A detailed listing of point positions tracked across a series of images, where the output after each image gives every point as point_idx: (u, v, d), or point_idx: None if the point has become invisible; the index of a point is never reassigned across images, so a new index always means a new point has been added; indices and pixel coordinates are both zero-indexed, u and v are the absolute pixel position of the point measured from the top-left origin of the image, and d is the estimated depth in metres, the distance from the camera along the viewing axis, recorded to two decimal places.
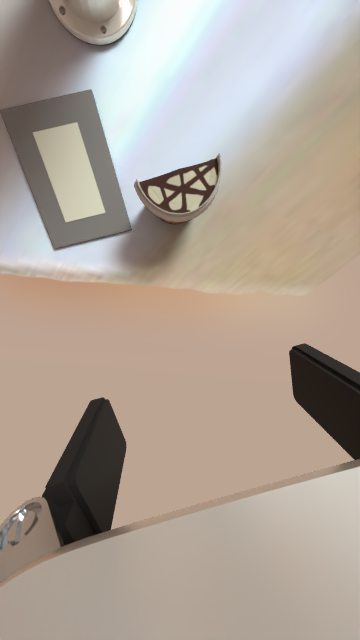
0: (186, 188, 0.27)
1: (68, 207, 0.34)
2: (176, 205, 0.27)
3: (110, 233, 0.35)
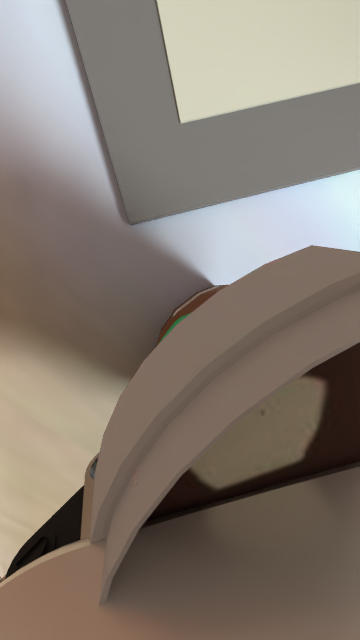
0: None
1: None
2: None
3: (107, 133, 0.09)
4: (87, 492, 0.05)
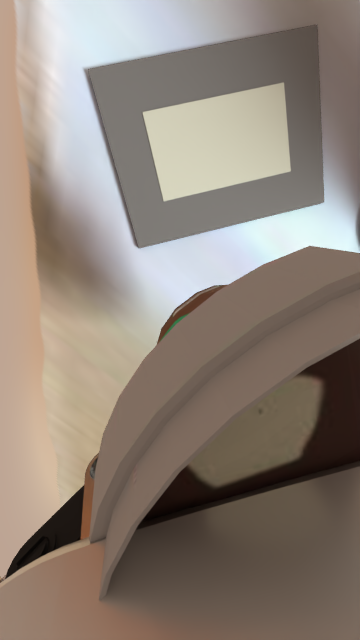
0: None
1: (169, 125, 0.18)
2: None
3: (128, 206, 0.19)
4: (87, 492, 0.05)
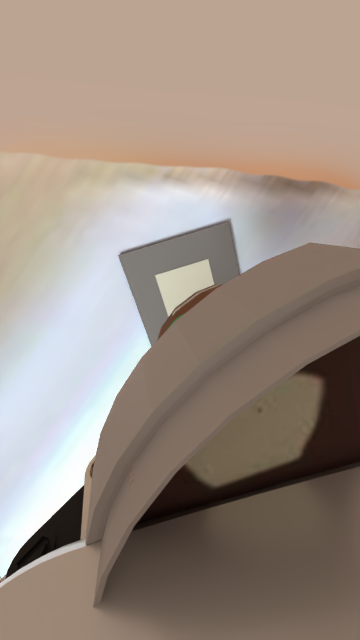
0: None
1: (202, 278, 0.26)
2: None
3: (148, 247, 0.24)
4: (87, 492, 0.05)
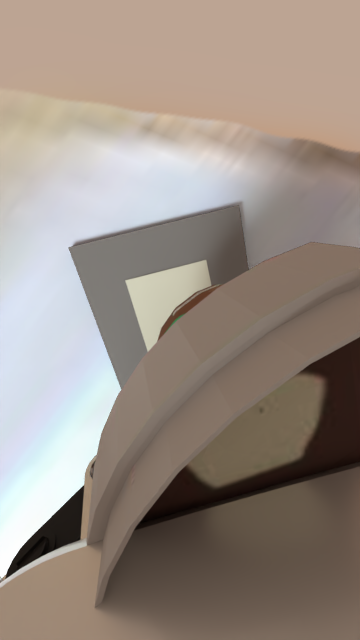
0: None
1: (196, 287, 0.17)
2: None
3: (115, 238, 0.16)
4: (87, 492, 0.05)
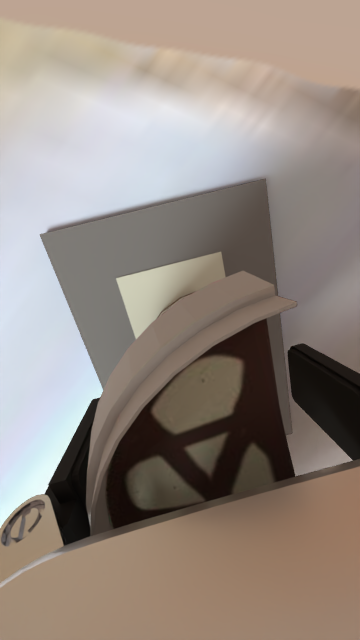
0: None
1: None
2: (146, 489, 0.05)
3: (102, 222, 0.12)
4: None
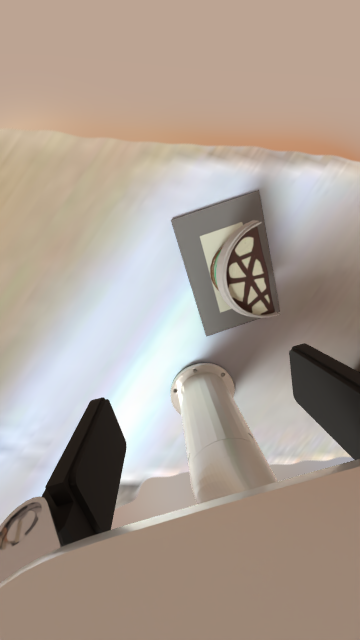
0: (250, 282, 0.24)
1: None
2: (232, 272, 0.24)
3: (195, 213, 0.30)
4: None
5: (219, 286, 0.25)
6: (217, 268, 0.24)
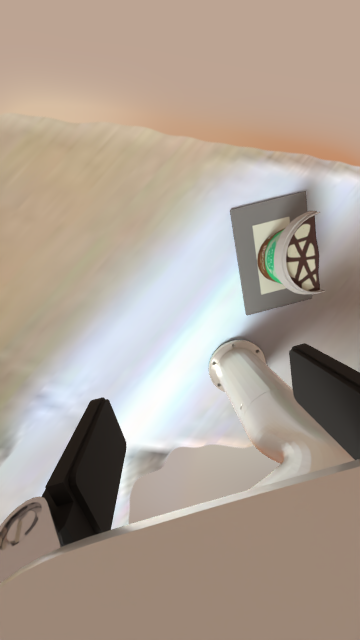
0: (302, 262, 0.29)
1: None
2: (290, 252, 0.29)
3: (251, 205, 0.35)
4: None
5: (276, 264, 0.30)
6: (276, 248, 0.30)
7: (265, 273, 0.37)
